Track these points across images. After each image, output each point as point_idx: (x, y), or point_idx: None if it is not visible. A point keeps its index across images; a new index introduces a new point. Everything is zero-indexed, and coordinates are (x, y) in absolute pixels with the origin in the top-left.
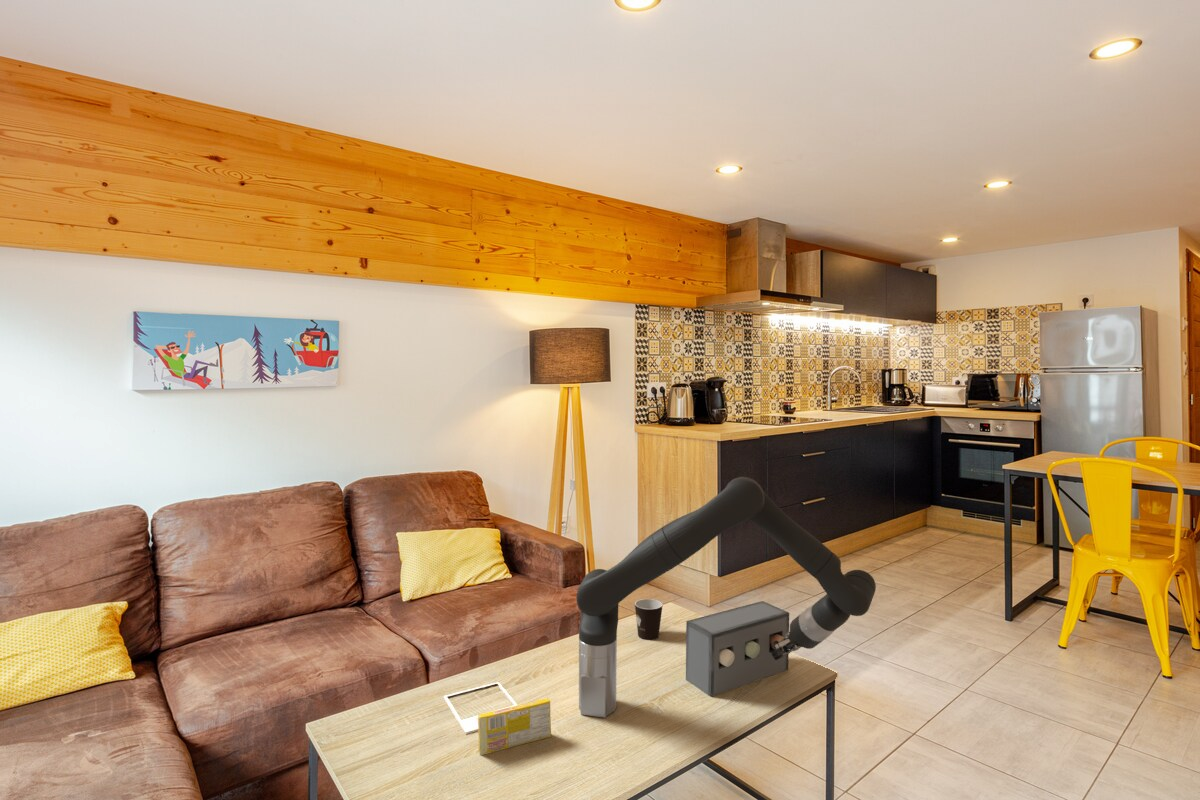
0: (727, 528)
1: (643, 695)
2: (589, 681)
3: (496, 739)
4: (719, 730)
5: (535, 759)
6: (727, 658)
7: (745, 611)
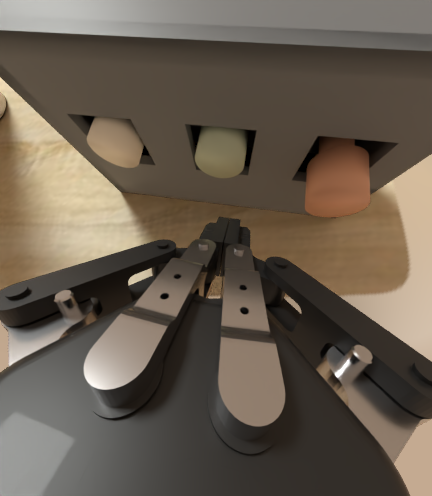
0: None
1: (49, 126)
2: None
3: None
4: (33, 272)
5: None
6: (109, 150)
7: None
